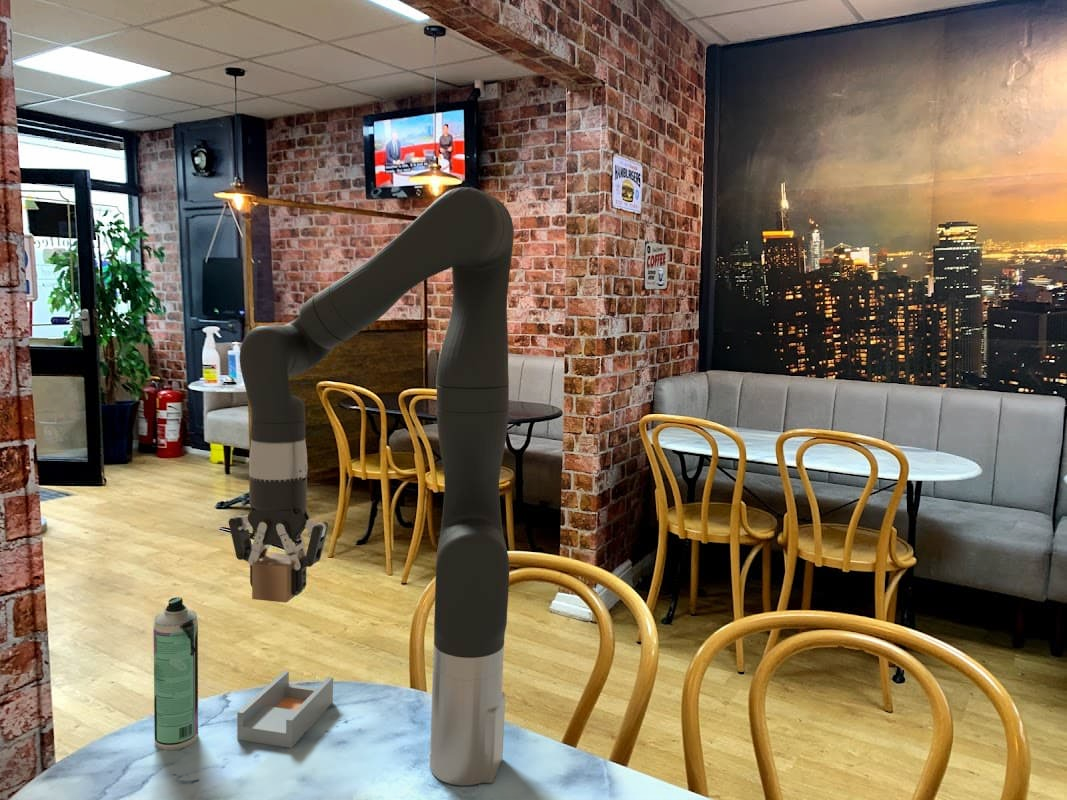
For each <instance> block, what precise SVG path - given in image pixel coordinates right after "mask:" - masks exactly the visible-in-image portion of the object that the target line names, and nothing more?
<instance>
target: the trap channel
mask: <svg viewBox="0 0 1067 800" xmlns="http://www.w3.org/2000/svg"><path fill="white" fill-rule="evenodd" d="M289 673H290V671H288V670H283V671H282V672H281V673H279V675H277V676H276V678H274V679H273V680H272V681H270V683H269V684H267V685H266V686H265V687H264V688H263V689H262V690H260V692H258V693H257V694H256V695H255V696H254V697H252V698H251V700H249V702H247V703H246V704H245V705H244V706H243V707H242V708H241V709H239V710H238V711H237V713H236V714H237V718H236V719H237V721H236V722H237V723H236V727H237V730H236V731H237V734H236V736H237V737H236V738H237V739H236V740H237V741H244V742H249V743H258V744H263V745H270V746H277V747H284V748H289V749H292V748H293V747H294V746H295V745H296V744H297V743H298V741H299V740H300V739H301V738H302V737H303V736H304V735H305V734H306V733H307V732H308V731H309V729H310V728H311V727H312V726H313V725H314V724H315V723H316V721H318V720H319V718H320V717H321V716H322V715H323V714H324V712H325V711H327V709H328V708H330V706H331V705H332V704H333V701H334V677H330V676H327V677H326V679H325V680H323V682H321V684H319V686H318V687H314V686H307V685H299V684H293V683H290V681H289V680H290V674H289ZM305 732H306V733H305ZM304 733H305V734H304Z"/></svg>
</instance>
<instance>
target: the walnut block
mask: <svg viewBox="0 0 1067 800" xmlns="http://www.w3.org/2000/svg"><path fill="white" fill-rule="evenodd" d="M292 569H293V567H292V564H291V561H290V558H289V556H288V555H287V554H286V553H277V552H269V553H266V556H264V557H262V558H261V559H259V560H257V561H256V562H254V563H252V587H251V595H252V596H251V600H254V601H255V600H259V601H264V602H265V601H267V602H274V603H275V602H277V603H288V602H289V601H290V600H292V599H294V597H297V596H296V595H292V594H291V570H292Z"/></svg>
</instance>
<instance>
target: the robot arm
mask: <svg viewBox="0 0 1067 800" xmlns="http://www.w3.org/2000/svg"><path fill="white" fill-rule="evenodd" d="M514 229H515V227H514V222H513V218H512V216H511V214H510V211H509V210H508V208H507V207H506V206H505V204H504V203H502V202H501V201H500V200H499V199H498V198H497V197H495V196H492V195H491V194H488V193H486V192H484V191H482V190H479V189H477V188H474V187H466V186H460V187H456V188H455V187H454V188H452V189H449V190H447V191H445V192H444V193H442V194H441V196H439V197H438V198H437V199H435V200H434V201H433V202H432V203H431V204H430V205H429V206H428V207H427V208H426V209H425V210H423V212H422V213H421V214H420V215H419V216H417V218H415V220H413V221H412V222H411V223H410V224H409V225H408V226H407V227H406V228H404V230H402V231H401V232H400V233H399V234H398V235H397V236H396V237H394V238H393V239H392V240H391V241H390V242H389V243H387V244H386V245H385V246H384V247H382V249H380V250H379V251H378V252H377V253H375V254H374V255H373V256H371V257H370V258H368V259H367V260H365V261H364V262H362V263H361V264H360V265H359V266H357V267H356V268H354V269H353V270H352V271H350V272H349V273H347V274H345V275H344V276H342V277H341V278H339V279H338V280H336V281H334V282H333V283H331V284H330V285H328V286H327V287H325V288H324V289H322V290H321V291H319V292H318V293H317V294H315V295H313V296H311V298H309V299H308V300H307V301H306V302H305V303H304V304H302V306H301V307H300V310H299V316H298V317H296V318H295V319H293V320H292V321H290V322H288V323H286V324H284V325H283V324H281V325H261V326H256V327H254V328H251V330H249V331H248V332H247V333H246V335H244V338H243V339H242V342H241V345H240V349H239V366H240V367H239V368H240V373H241V376H242V380H243V384H244V388H245V392H246V398H247V400H248V403H249V406H250V410H251V411H250V412H251V415H250V417H251V420H250V422H251V423H250V424H251V425H250V428H251V429H250V430H251V431H250V434H251V435H250V438H251V440H250V448H249V449H250V450H249V457H248V460H249V461H248V462H249V463H248V464H249V467H248V470H249V474H248V475H249V478H248V479H249V480H248V481H249V492H248V493H249V496H248V497H249V501H248V502H249V505H250V510H249V512H248V514H244V513H239V514H237V515H236V516H232V517H230V518H229V520H228V526H229V530H230V534H231V539H232V544H233V547H234V548H233V549H234V552H235V557H236V559H238V560H239V561H245V562H247V563H248V564H249V578H250V579H249V584H250V586H251V588H252V563H254V562H256V561H257V560H259V559H261V558H262V557H264V556H266V555H267V554H268V550H269V548H270V546H271V545H275V546H276V545H277V546H279V547H283V549H284V552H285V553H284V554H287V555H288V556H289V558H290V561H291V564H292V567H293V569H292V570H291V594H292V595H296V596H295V597H297V596H298V595H300V594H301V593H302V592H303V591H304V590H305V589H306V587H307V568H311V567H313V565H315V564H316V563H318V562H319V561H320V560H321V558H322V555H323V549H324V545H325V542H326V537H327V534H328V533H327V532H328V528H329V523H328V522H327V521H325V520H323V521H321V522H319V521H316V520H313V519H310V517H309V514H308V512H307V504H308V470H309V467H308V466H309V465H308V451H307V445H306V407H305V402H304V401H303V399H301V397H298V396H296V395H293V394H292V390H291V389H292V388H291V385H290V384H291V383H290V380H289V379H290V378H289V377H295V376H299V375H301V374H303V373H305V372H307V371H309V370H311V369H312V368H313V367H315V366H316V365H318V364H319V363H320V362H322V360H323V359H325V358H326V357H327V355H329V354H330V353H331V352H332V351H333V350H334V349H335V348H336V347H337V346H338V345H340V344H343V343H344V342H346V341H347V340H349V339H350V338H352V337H354V336H355V335H357V334H359V333H360V332H362V331H363V330H365V329H366V328H368V327H369V326H371V325H373V324H374V323H376V321H378V320H379V319H380V318H381V317H383V316H384V315H385V314H386V313H387V312H389V310H390V309H391V308H392V307H394V305H396V303H397V302H398V301H399V300H400V299H401V298H402V297H403V296H405V295H406V293H408V292H409V291H410V290H412V289H413V288H415V287H416V286H417V285H419V284H420V283H422V282H424V281H425V280H427V279H429V278H431V277H432V276H435V275H438V274H439V273H441V272H444V271H447V270H449V269H451V270H452V308H451V313H450V319H449V322H448V325H447V329H446V333H445V336H444V340H443V344H442V348H441V352H440V354H439V358H438V364H437V370H436V371H437V373H436V422H437V423H436V425H437V434H438V435H437V436H438V443H439V449H440V456H441V462H442V470H443V476H444V478H443V479H444V480H443V481H444V483H443V484H444V487H443V488H444V490H443V491H444V492H443V506H442V516H441V525H440V532H439V538H438V543H437V550H436V562H435V563H436V564H435V586H434V618H433V619H434V620H433V633H434V634H433V659H432V662H433V663H432V683H431V684H432V688H431V689H432V691H431V714H430V715H431V717H430V721H431V722H430V746H429V747H430V750H429V769H430V772H431V774H432V775H434V777H435V778H437V779H438V780H439V781H442V782H444V783H446V784H450V785H456V786H472V785H474V786H475V785H479V784H482V783H488V784H493V782H494V781H495V778H496V775H497V774H498V771H499V768H500V766H501V763H502V761H503V758H504V757H503V756H504V734H505V714H506V692H504V691H503V673H504V655H505V654H504V651H505V637H506V629H507V623H508V607H509V605H508V604H509V589H510V588H509V587H510V557H509V553H508V548H507V545H506V540H505V535H504V530H503V529H504V528H503V524H502V523H503V522H502V512H501V511H502V510H501V498H500V497H501V496H500V476H501V469H502V463H503V460H504V459H503V458H504V453H505V447H506V442H507V441H506V440H507V434H508V427H509V426H508V423H509V408H510V404H509V402H510V401H509V400H510V399H509V395H510V393H509V392H510V391H509V390H510V389H509V387H510V386H509V384H510V380H509V379H510V378H509V376H510V375H509V329H508V327H509V326H508V313H507V312H508V292H509V283H510V273H511V264H512V257H513V249H514V248H513V247H514V236H515V230H514ZM250 527H251V528H252V529H253V531H254V532H255V536H254V539H253V542H252V539H251V535H250V531H249V530H250ZM305 529H307V536H308V537H309V542H308V546H307V551H306V549H305V548H306V543H305V540H304V537H303V534H302V533H303V532H304V531H305Z"/></svg>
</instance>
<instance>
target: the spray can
mask: <svg viewBox="0 0 1067 800" xmlns="http://www.w3.org/2000/svg"><path fill="white" fill-rule="evenodd" d="M183 602H184V600H183V597H180V596H179V597H172V598H170V599H169V600H168V605H167V606H166V607H165V608H164V611H162V612H161V613H159V614H157V615H156V616H154V620H153V621H154V622H153V694H154V695H153V697H154V698H153V704H154V705H153V706H154V708H153V709H154V710H153V712H154V713H153V714H154V716H153V717H154V721H153V723H154V745H155V746H156V747H157V748H159V749H161V750H165V751H166V750H167V751H173V750H179V749H183V748H185V747H188V746H190V745H192V744H193V743H195V742H196V740H198V737H199V644H198V643H199V634H198V633H199V630H198V629H199V628H198V627H199V619H198V618H197V617H198V614H197V612H196V611H194V610H192V609H188V606H187V605H185V604H184V603H183Z"/></svg>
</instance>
